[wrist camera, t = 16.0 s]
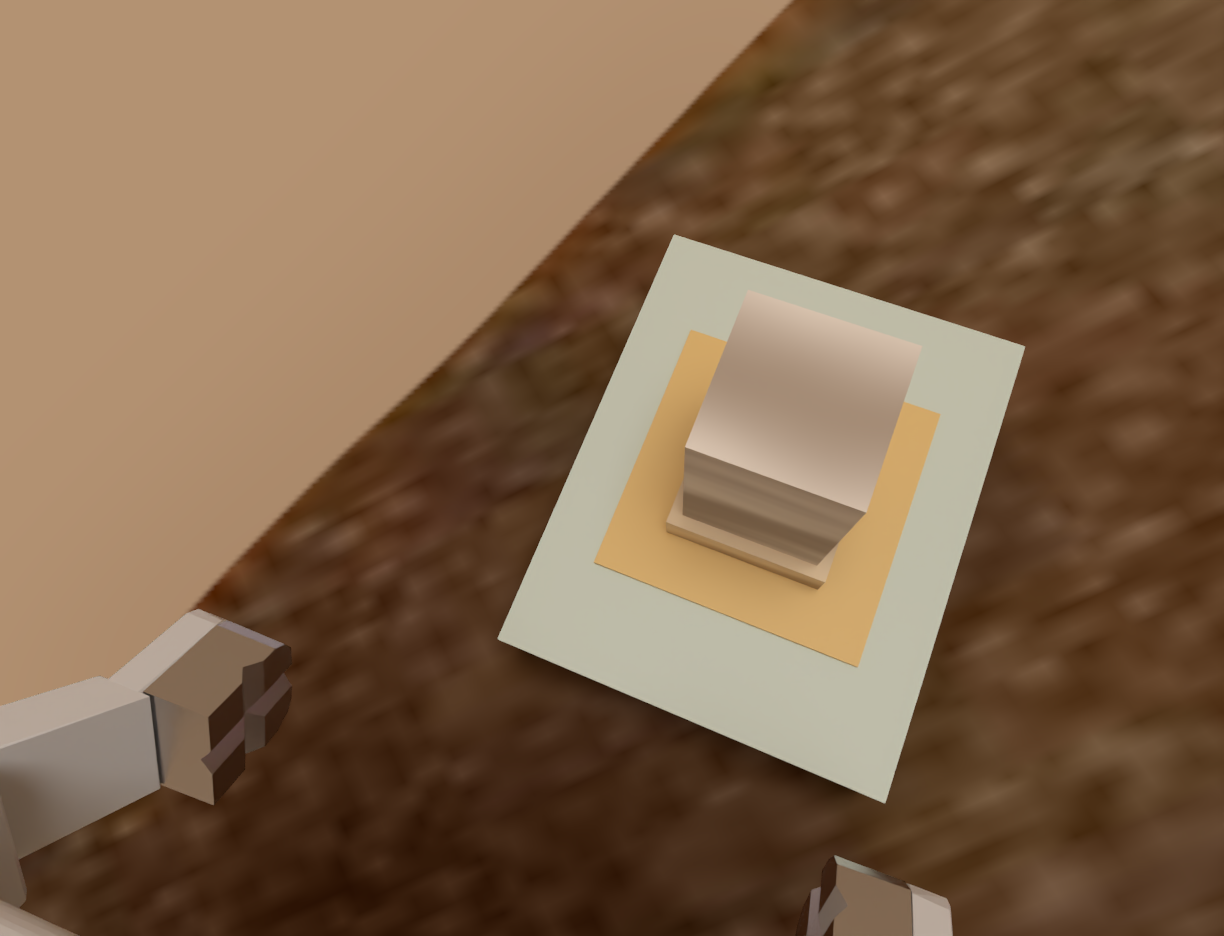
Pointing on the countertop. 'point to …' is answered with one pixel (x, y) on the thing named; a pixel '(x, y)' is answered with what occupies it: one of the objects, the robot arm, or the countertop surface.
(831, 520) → the block
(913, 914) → the robot arm
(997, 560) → the countertop surface
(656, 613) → the loading dock
